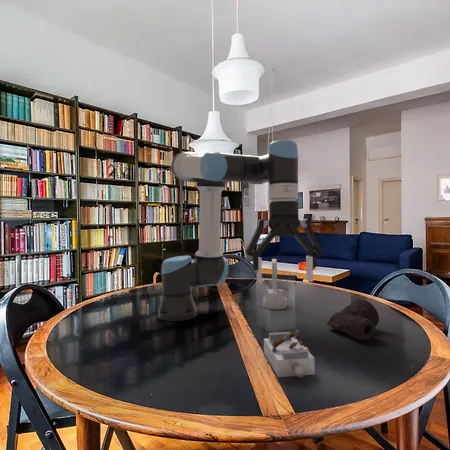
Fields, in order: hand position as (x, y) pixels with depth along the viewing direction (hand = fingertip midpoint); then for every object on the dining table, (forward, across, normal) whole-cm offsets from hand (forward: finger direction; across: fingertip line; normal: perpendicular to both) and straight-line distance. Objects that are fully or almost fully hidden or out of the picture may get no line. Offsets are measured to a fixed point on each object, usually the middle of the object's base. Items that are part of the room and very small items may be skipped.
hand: (284, 281), depth 82 cm
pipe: (+21, +29, +17) cm, 40 cm away
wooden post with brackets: (+17, 0, -2) cm, 17 cm away
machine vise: (+21, +1, -3) cm, 21 cm away
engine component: (+21, +12, +53) cm, 59 cm away
